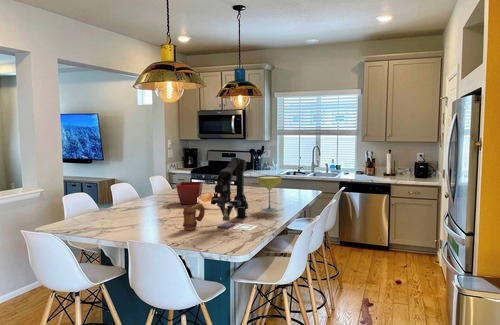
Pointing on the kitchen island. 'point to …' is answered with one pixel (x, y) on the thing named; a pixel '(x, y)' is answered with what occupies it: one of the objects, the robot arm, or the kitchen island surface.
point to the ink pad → (226, 225)
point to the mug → (192, 216)
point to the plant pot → (189, 192)
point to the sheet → (245, 227)
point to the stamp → (226, 215)
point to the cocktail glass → (269, 185)
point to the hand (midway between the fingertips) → (226, 216)
